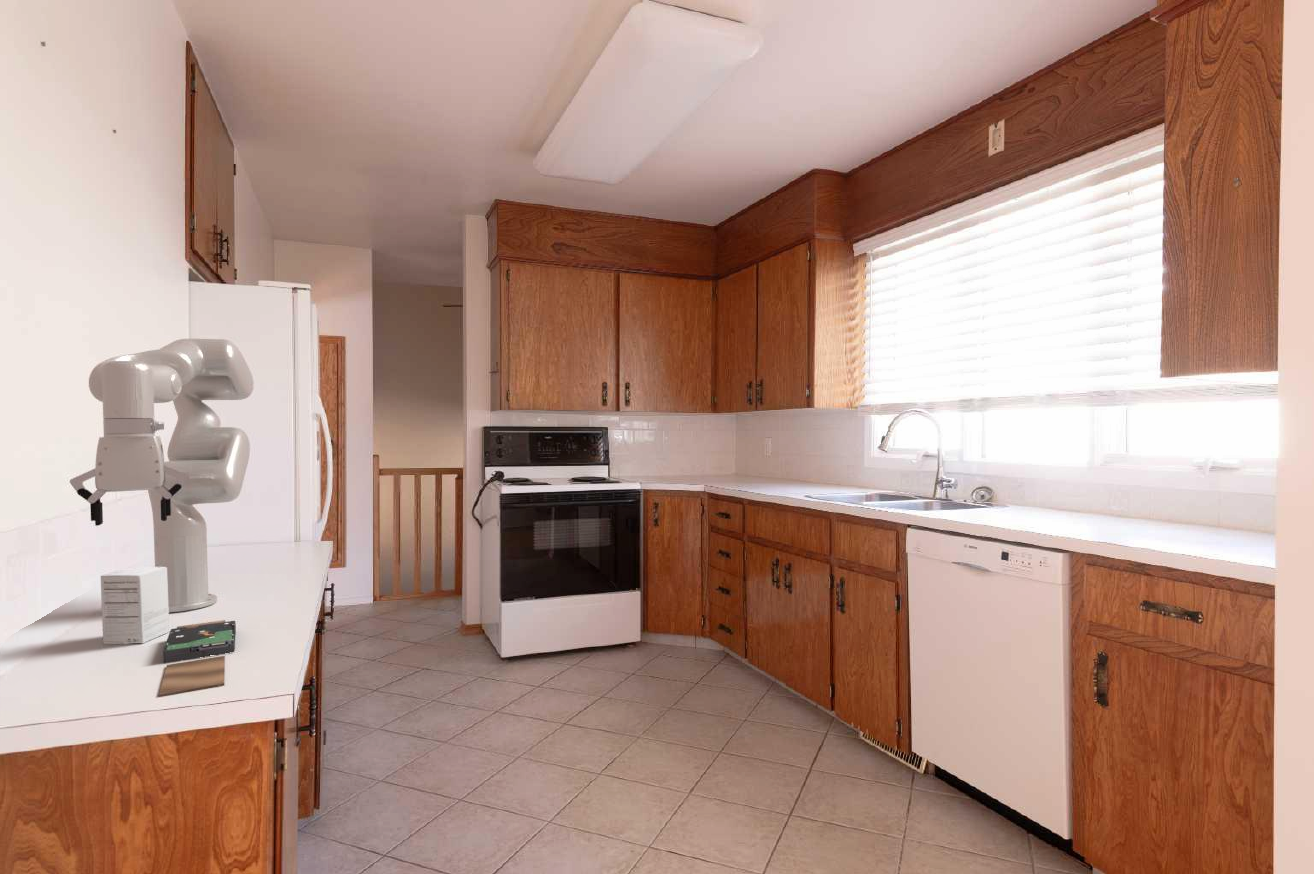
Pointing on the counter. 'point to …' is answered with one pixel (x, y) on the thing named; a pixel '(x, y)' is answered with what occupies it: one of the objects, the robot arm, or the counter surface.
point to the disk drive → (199, 641)
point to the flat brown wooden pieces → (193, 673)
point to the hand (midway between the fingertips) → (132, 522)
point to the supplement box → (134, 605)
